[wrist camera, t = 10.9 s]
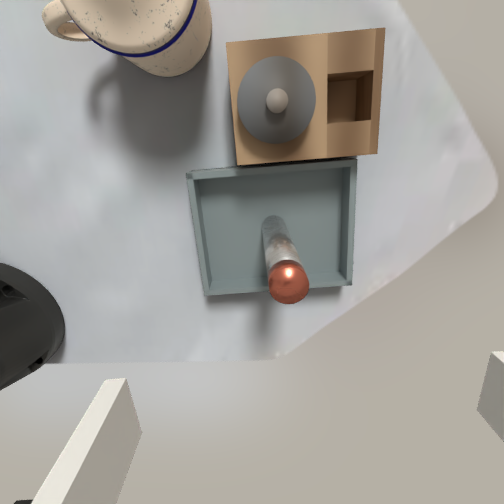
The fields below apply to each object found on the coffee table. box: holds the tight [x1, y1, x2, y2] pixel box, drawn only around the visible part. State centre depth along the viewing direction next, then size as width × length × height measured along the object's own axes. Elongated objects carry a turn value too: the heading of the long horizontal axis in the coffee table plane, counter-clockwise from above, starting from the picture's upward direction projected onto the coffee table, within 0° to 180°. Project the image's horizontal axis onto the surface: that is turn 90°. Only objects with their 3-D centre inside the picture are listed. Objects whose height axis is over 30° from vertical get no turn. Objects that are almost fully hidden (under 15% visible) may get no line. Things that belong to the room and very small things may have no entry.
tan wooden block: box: [226, 28, 385, 165], centre depth 25 cm, size 12×9×7 cm
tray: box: [186, 158, 357, 296], centre depth 31 cm, size 16×13×3 cm
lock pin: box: [262, 215, 309, 304], centre depth 26 cm, size 3×3×14 cm
